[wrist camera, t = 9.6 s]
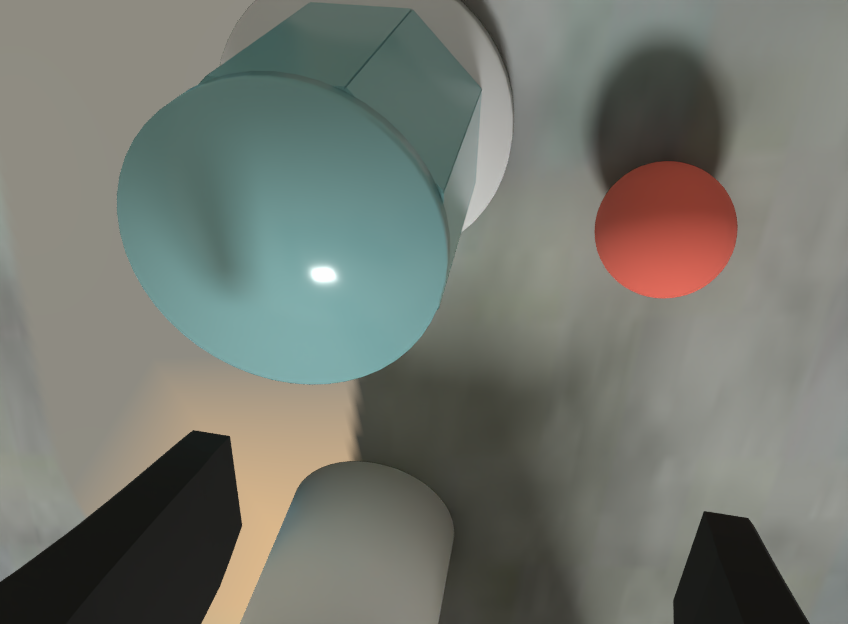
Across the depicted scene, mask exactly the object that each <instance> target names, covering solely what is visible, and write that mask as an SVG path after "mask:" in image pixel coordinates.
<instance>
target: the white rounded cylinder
mask: <svg viewBox="0 0 848 624" xmlns="http://www.w3.org/2000/svg"><path fill="white" fill-rule="evenodd" d="M453 540H454V525H453V520H452V518H451V515H450V512H449V511H448V509H447V507H446V505H445V504H444V503H443V501H442V500H441V499H440V497H439V496H438V495H437V494H436V493H435V492H434V491H433V490H432V489H430V488H429V487H428V486H427V485H425V484H424V483H423V482H421V481H420V480H418V479H416V478H415V477H413V476H411V475H409V474H407V473H405V472H403V471H400V470H398V469H395V468H392V467H389V466H386V465H382V464H377V463H371V462H361V461H347V462H339V463H334V464H330V465H327V466H324V467H322V468H320V469H318V470H316V471H314V472H312V473H311V474H310V475H309V476H307V477H306V478H305V479H304V480H303V481H302V483H301V484H300V485H299V487H298V488H297V491H296V493H295V495H294V498H293V501H292V503H291V505H290V507H289V510H288V512H287V514H286V517H285V519H284V521H283V524H282V526H281V528H280V531H279V533H278V535H277V538H276V540H275V543H274V545H273V547H272V550H271V552H270V554H269V557H268V559H267V562H266V564H265V566H264V568H263V571H262V573H261V576H260V578H259V580H258V583H257V585H256V587H255V590H254V592H253V594H252V597H251V599H250V602H249V604H248V606H247V608H246V611H245V613H244V616H243V618H242V620H241V623H240V624H438V622H439V617H440V611H441V606H442V600H443V595H444V589H445V584H446V578H447V573H448V567H449V562H450V556H451V551H452V545H453Z"/></svg>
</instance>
